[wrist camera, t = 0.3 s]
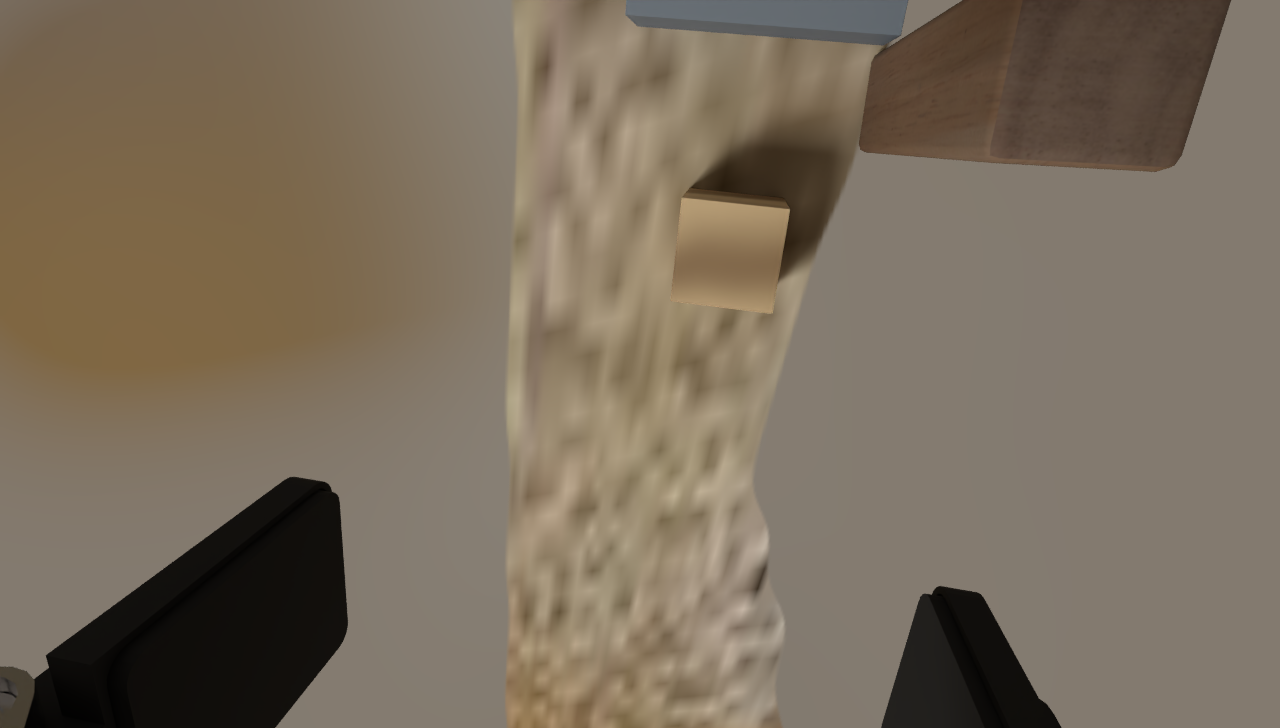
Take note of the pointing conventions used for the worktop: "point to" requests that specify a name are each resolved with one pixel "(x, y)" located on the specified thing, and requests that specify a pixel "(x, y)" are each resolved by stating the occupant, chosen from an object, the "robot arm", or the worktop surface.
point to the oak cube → (729, 250)
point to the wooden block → (1046, 83)
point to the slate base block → (778, 18)
